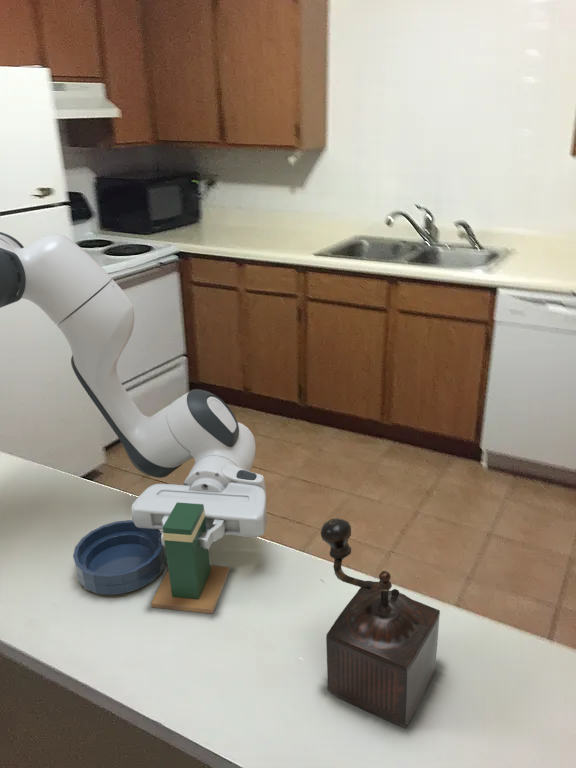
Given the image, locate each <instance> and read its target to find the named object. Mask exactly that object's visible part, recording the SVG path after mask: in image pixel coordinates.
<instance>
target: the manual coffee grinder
mask: <svg viewBox="0 0 576 768" xmlns="http://www.w3.org/2000/svg"><path fill="white" fill-rule="evenodd" d="M351 536H352V526H351V524H350V522H349V521H347V520H345V519H343V518H339V517H337V518H332V519H329V520H327V521H326V522H324V523H323V525H322V527H321V530H320V537H321V539H322V541H324V542H325V543H326V544H327V545H328V546H329V547H330V551H329V557H330V558H332V559H334V560H333V565H332V566H333V567H332V568H333V571H334V576H335V577H336V578H337V579H338V580H339V581H342V582H343V583H346V584H349V585H353V586H356V587H359V589H358V590H357V591H356V593H355V595H353V597H352V598H350V600H349V602H348V603H347V604H346V606H345V607H344V608H343V610H342V611H341V612H340V614H339V615H338V616H337V618H336V619H335V621H334V623H333V624H332V625H331V627H330V629H329V630H328V632H327V633H326V635H325V636H326V639H325V640H326V641H325V642H326V644H325V645H326V668H327V669H326V670H327V671H326V673H327V675H326V676H327V687H326V689H327V692H329V693H331V694H332V695H333V696H335V697H336V698H338V699H339V700H342V701H343V702H346V703H348V704H350V705H352V706H354V707H356V708H358V709H360V710H363V711H365V712H367V713H369V714H371V715H372V716H375V717H378V718H381V719H383V720H385V721H388V722H390V723H392V724H395V725H397V726H399V727H401V728H404V729H406V727H407V725H408V724H409V723H410V721H411V719H412V718H414V716H415V713H416V711H417V709H418V708H419V705H420V703H421V701H422V700H423V698H424V696H425V694H426V693H427V691H428V689H429V686H430V684H431V683H432V681H433V678H434V676H435V674H436V671H437V669H436V667H437V662H436V661H437V653H438V652H437V651H438V641H439V629H440V627H439V626H440V615H441V611H440V609H437V608H435V607H433V606H431V605H427V604H425V603H422V602H420V601H417V600H416V599H412V598H411V597H409V596H407V595H405V594H404V593H402V592H400V591H399V589H396V588H393V589H392V587H393V584H392V582H391V578H392V577H391V576H392V575H391V574H390V573H389V571H388V570H382V571H381V572H380V573H379V575H378V578H379V581H374V580H363V579H359V578H355V577H352V576H350V575H348V574H347V573H345V572H344V571H343V569H342V563H343V560H345V559H346V558H347V557H348V556H350V555H351V554H352V547H351V546H350V544H349V543H348V542H349V539H350V537H351ZM391 589H392V590H391Z"/></svg>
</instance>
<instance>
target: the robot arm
mask: <svg viewBox="0 0 576 768" xmlns="http://www.w3.org/2000/svg"><path fill="white" fill-rule="evenodd" d="M21 299H24V300H27V301H30V302H32V303H34V304H35V305H36V306H37V307H38V308H40V309H41V310H42V311H43V312H44V314H46V315H47V317H48V318H49V319H50V320H51V321H52V322H53V323H54V324H55V325H56V327H58V328H59V330H60V331H61V332H62V334H63V335H64V337H65V339H66V341H67V343H68V345H69V347H70V350H71V354H72V355H71V358H70V364H71V368H72V370H73V373H74V374H75V376H76V378H77V380H78V381H79V383H80V385H81V386H82V388H83V389H84V390H85V392H86V393H87V395H88V396H89V398H90V400H91V401H92V402H93V404H94V405H95V406H96V408H97V409H98V411H99V412H100V414H101V415H102V416H103V418H104V420H105V421H106V422H107V423H108V425H109V426H110V428H111V429H112V431H113V432H114V433H115V435H116V437H117V438H118V439H119V441H120V443H121V445H122V447H123V449H124V450H125V453H126V455H127V457H128V459H129V461H130V463H131V464H132V465H133V467H134V468H135V469H137V471H139V472H141V474H142V473H143V474H144V475H147V476H150V477H154V478H157V479H160V478H161V479H162V478H166V477H168V476H169V475H170V474H172V473H173V472H175V471H176V470H177V469H179V468H180V467H181V466H183V464H185V463H186V462H188V461H190V460H191V459H194V464H193V466H192V467H191V470H190V471H189V473H188V474H187V476H186V478H185V480H184V481H183V484H174V483H153V484H152V485H150V486H148V487H147V488H146V489H144V491H142V493H140V494H139V495H138V497H137V498H136V499H135V500H134V501H133V503H132V504H131V507H130V512H131V518H132V520H133V522H134V524H135V526H136V527H138V528H149V529H159V530H160V531H161V530H162V531H163V526H164V524H165V522H166V521H167V519H168V517H169V515H170V514H171V512H172V510H173V508H174V507H175V505H176V503H177V502H178V503H192V504H203V505H204V510H205V523H206V532H201V534H200V536H199V538H198V544H199V545H198V547H199V548H200V549H208V550H210V548H211V546H212V544H214V543H215V542H217V541H218V540H220V539H222V538H223V537H224V536H235V537H247V538H259V537H261V536H263V535H264V534H265V532H266V529H267V524H268V507H267V487H266V479H265V477H264V476H263V475H262V474H260V473H256V472H253V471H252V468H253V466H254V462H255V459H256V452H257V445H256V438H255V435H254V434H253V433H252V430H250V428H248V426H246V425H245V424H243V423H241V422H240V421H238V420H237V417H236V416H235V414H234V412H233V411H232V409H231V408H230V406H228V404H227V403H226V402H225V401H224V400H223V399H222V398H220V396H218V395H216V394H214V393H212V392H210V391H207V390H203V389H199V388H197V389H196V388H193V389H191V390H189V391H188V392H186V393H185V394H183V395H181V396H179V397H178V398H176V399H175V400H173V401H172V402H170V404H168V405H167V406H165V407H163V408H162V409H161V410H159V411H158V412H156V413H154V414H153V415H151V416H147V415H144V414H143V413H142V412H141V410H140V409H139V408H138V406H137V405H136V403H135V401H134V400H133V399H132V397H131V396H130V394H129V393H128V391H127V390H126V388H125V387H124V385H123V383H122V382H121V381H120V379H119V377H118V373H117V372H118V371H117V366H118V361H119V359H120V356H121V355H122V353H123V351H124V349H125V348H126V346H127V344H128V342H129V340H130V338H131V336H132V335H133V331H134V326H135V311H134V306H133V304H132V301H131V300H130V298H129V297H128V296H127V293H125V291H124V290H123V289H122V287H121V286H119V284H118V283H117V282H116V281H115V279H113V278H112V276H111V275H110V274H109V273H108V272H107V271H106V270H105V269H104V268H103V267H102V266H101V265H100V263H98V262H97V261H96V260H95V259H94V258H93V257H92V256H91V255H90V254H89V253H88V252H86V250H84V249H83V248H82V247H81V246H80V245H78V244H77V243H76V242H74V241H73V240H72V239H70V238H69V237H67V236H65V235H62V234H48V235H44V236H42V237H39V238H37V239H36V240H34V241H33V242H31V243H30V244H29V245H27V246H24V245H23V244H22V243H21V242H20V241H19V240H18V239H16V238H15V237H14V236H12V235H10V234H7V233H5V232H2V231H0V309H1V308H3V307H7V306H8V305H11V304H15V303H17V302H19V301H20V300H21ZM161 533H162V535H161V542H162V545H164V546H165V542H164V538H163V532H161Z"/></svg>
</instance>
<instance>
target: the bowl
mask: <svg viewBox="0 0 576 768" xmlns="http://www.w3.org/2000/svg"><path fill="white" fill-rule="evenodd" d="M162 533H163V532H162V531H161V529H149V528H138V527H136V526H135V524H134V522H133V519H132V520H131V519H125V520H117V521H113V522H109V523H106V524H103V525H101V526H99V527H96V528H95V529H93V530H91V531H89V532H88V533H87V534H85V535H84V536H83V537H82V538H80V540H79V542H78V543H77V544H76V546H75V547H74V551H73V555H72V558H73V562H74V567H75V572H76V577H77V579H78V583H80V584H81V585H82V587H83V588H84V589H85V590H87V591H89V592H92V593H95V594H97V595H98V594H99V595H109V596H112V595H121V594H127V593H130V592H133V591H136V590H139V589H142V588H143V587H145V586H146V585H149V584H150V583H152V582H153V581H154V580H155V579H156V578H157V577H159V575H160V574H161V573H162V571H163V569H164V568H165V566H166V563H167V556H166V549H165V546H164V545H162V542H161V535H162Z"/></svg>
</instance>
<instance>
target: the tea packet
mask: <svg viewBox="0 0 576 768" xmlns="http://www.w3.org/2000/svg"><path fill="white" fill-rule="evenodd" d="M201 532H206V523H205V510H204V505H203V504H192V503H178V502H177V503H176V505H175V507H174V508H173V510H172V512H171V514H170V515H169V517H168V519H167V521H166V522H165V524H164V526H163V530H162V533H163V538H164V542H165V552H166V563H167V571H168V570H169V577H170V585H171V592H172V597H180V598H190V599H199V598H200V596H201V593H202V591H203V588H204V586H205V584H206V581H207V579H208V577H209V574H210V572H211V570H210V565H211V561H210V553H209V549H200V548H199V547H198V545H199V544H198V538H199V536H200V534H201Z"/></svg>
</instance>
